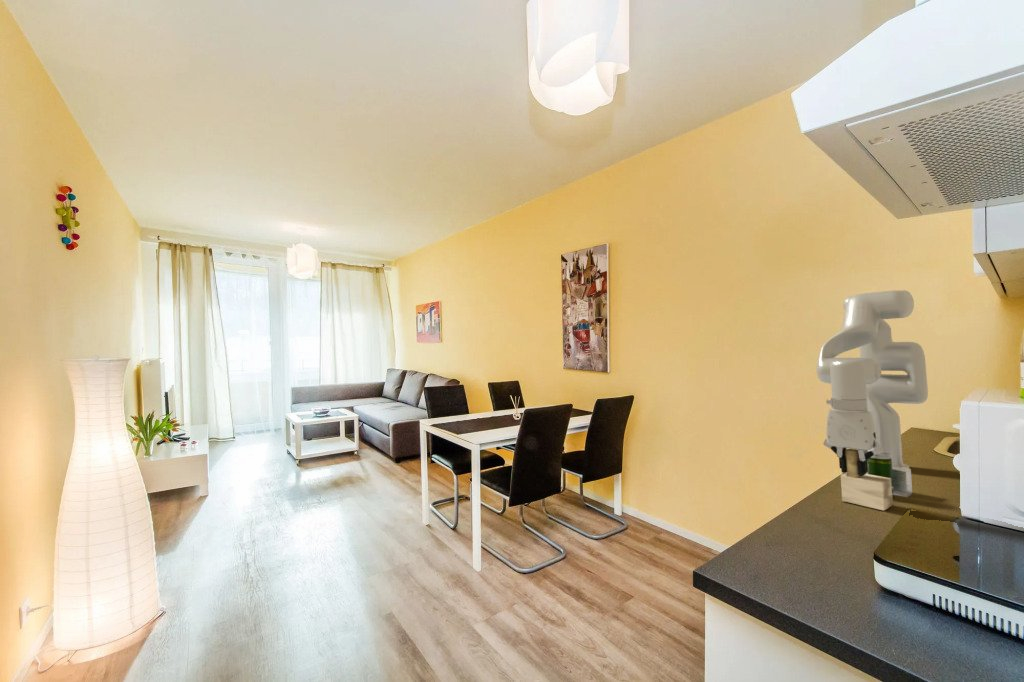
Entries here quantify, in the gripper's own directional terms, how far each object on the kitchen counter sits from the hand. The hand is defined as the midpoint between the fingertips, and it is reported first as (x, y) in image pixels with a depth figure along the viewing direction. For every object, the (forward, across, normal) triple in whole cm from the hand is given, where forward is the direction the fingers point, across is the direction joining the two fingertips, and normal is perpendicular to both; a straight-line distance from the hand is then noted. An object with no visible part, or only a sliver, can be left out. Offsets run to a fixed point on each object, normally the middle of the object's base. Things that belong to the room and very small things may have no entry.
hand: (853, 472), depth 115 cm
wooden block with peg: (+8, +2, +2) cm, 9 cm away
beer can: (+8, +2, +12) cm, 14 cm away
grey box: (+8, +2, +18) cm, 19 cm away
